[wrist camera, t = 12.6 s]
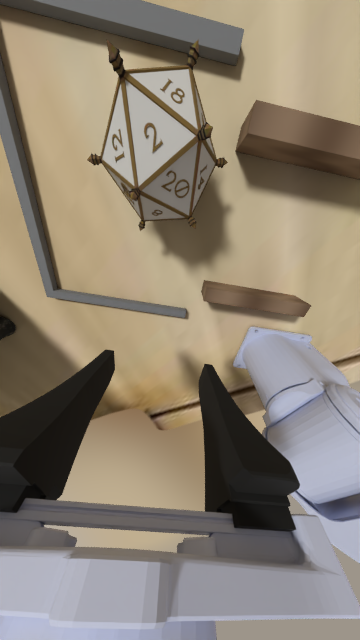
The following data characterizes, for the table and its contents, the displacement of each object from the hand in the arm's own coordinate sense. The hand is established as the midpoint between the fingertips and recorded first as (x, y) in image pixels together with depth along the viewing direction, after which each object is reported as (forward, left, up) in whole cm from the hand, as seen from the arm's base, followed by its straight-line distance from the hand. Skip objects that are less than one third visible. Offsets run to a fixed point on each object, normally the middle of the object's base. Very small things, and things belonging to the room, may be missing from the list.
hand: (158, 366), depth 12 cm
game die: (+2, -13, -11) cm, 17 cm away
